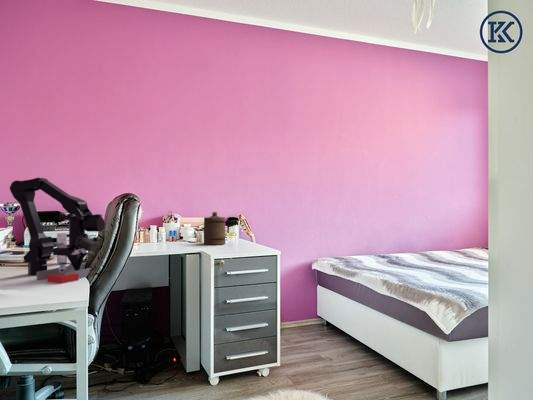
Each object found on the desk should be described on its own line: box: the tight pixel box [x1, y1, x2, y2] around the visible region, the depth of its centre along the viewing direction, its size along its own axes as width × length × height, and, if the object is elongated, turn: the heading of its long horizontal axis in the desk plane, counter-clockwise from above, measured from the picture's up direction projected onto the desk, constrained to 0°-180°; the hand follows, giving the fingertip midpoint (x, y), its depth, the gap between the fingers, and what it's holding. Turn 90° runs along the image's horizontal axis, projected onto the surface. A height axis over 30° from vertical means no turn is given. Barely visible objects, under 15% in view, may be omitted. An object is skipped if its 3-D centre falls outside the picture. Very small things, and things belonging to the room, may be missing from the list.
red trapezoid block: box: [46, 264, 80, 284], centre depth 148 cm, size 8×7×6 cm
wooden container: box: [203, 211, 226, 246], centre depth 281 cm, size 15×15×22 cm
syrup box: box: [56, 231, 71, 264], centre depth 195 cm, size 6×6×14 cm
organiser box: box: [36, 261, 91, 281], centre depth 160 cm, size 13×25×3 cm, turn 162°
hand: (77, 271), depth 160 cm, fingers closed
